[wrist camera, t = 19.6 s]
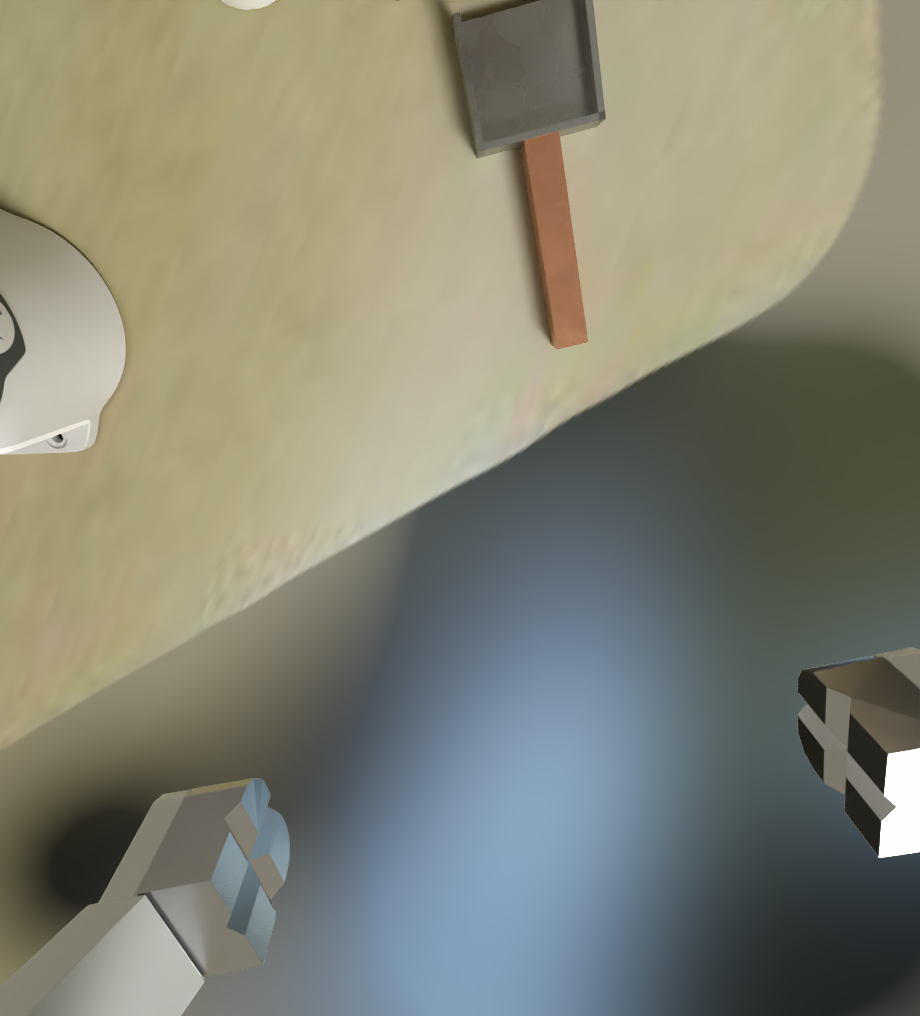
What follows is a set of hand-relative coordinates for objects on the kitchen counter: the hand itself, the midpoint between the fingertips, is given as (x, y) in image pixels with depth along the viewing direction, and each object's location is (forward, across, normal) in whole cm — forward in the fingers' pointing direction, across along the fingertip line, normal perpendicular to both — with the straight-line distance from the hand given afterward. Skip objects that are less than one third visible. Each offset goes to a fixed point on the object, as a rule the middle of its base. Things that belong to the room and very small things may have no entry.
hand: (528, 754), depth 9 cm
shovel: (+37, -8, -10) cm, 39 cm away
